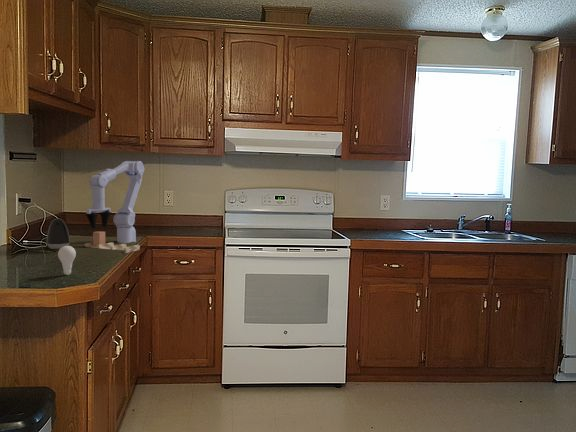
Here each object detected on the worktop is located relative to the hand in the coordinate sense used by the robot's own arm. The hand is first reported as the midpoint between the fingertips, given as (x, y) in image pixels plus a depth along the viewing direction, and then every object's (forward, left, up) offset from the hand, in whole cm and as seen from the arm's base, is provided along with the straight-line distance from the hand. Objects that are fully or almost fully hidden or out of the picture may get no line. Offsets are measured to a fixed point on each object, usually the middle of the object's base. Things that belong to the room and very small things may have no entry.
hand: (99, 227), depth 248 cm
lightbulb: (+53, +34, -11) cm, 64 cm away
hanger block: (0, 0, -9) cm, 9 cm away
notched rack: (0, +8, -10) cm, 13 cm away
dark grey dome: (+13, -13, -11) cm, 21 cm away
